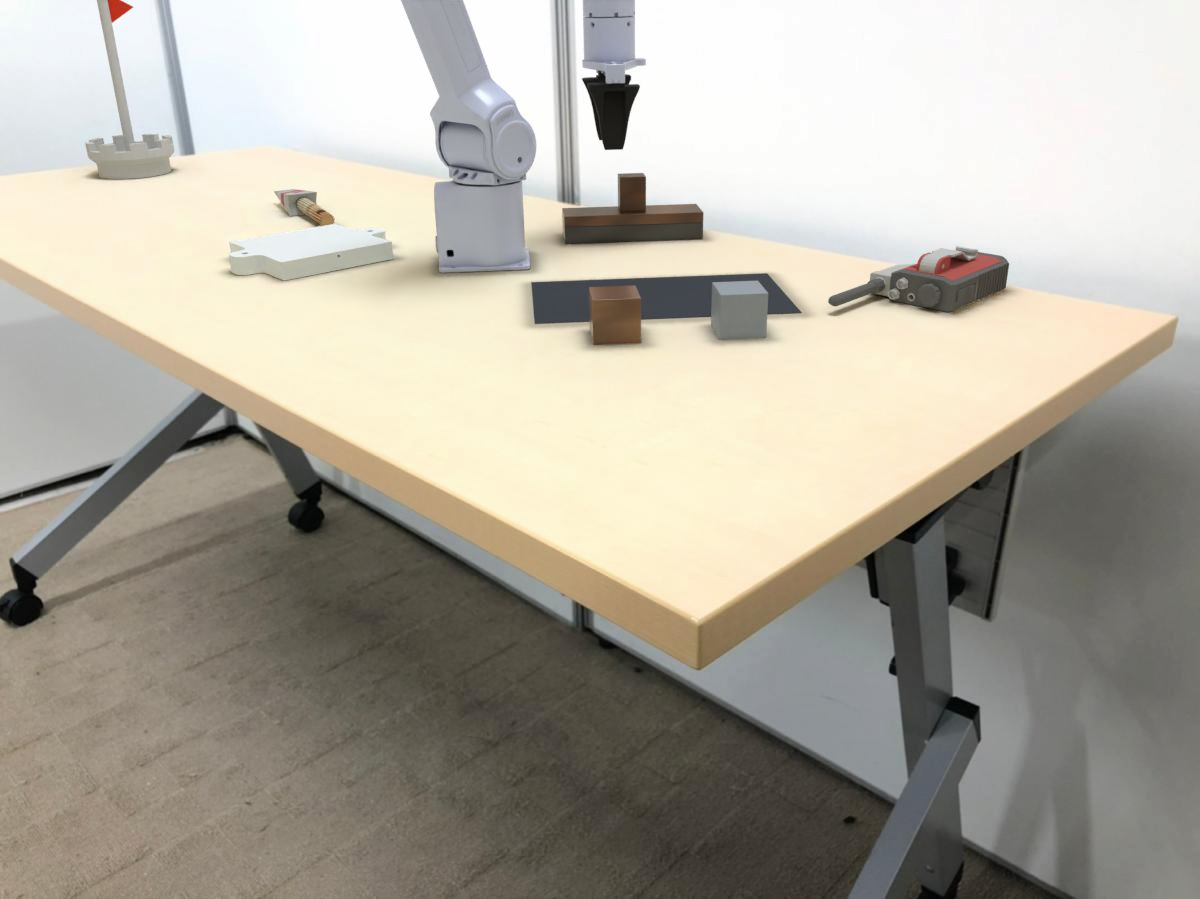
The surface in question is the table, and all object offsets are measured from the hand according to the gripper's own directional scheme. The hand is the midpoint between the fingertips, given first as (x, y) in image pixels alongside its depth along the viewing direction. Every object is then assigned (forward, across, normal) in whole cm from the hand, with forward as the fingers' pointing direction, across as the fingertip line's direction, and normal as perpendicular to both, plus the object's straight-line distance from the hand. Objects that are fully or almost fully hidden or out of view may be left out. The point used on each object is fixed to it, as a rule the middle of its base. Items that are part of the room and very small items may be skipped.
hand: (610, 144), depth 122 cm
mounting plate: (+11, -7, +34) cm, 36 cm away
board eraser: (+10, -2, -2) cm, 11 cm away
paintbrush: (+11, +18, +39) cm, 44 cm away
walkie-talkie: (+11, -32, -26) cm, 43 cm away
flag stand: (+11, +57, +73) cm, 93 cm away
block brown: (+10, -40, +3) cm, 41 cm away
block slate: (+10, -39, -7) cm, 41 cm away
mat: (+10, -28, -2) cm, 30 cm away
